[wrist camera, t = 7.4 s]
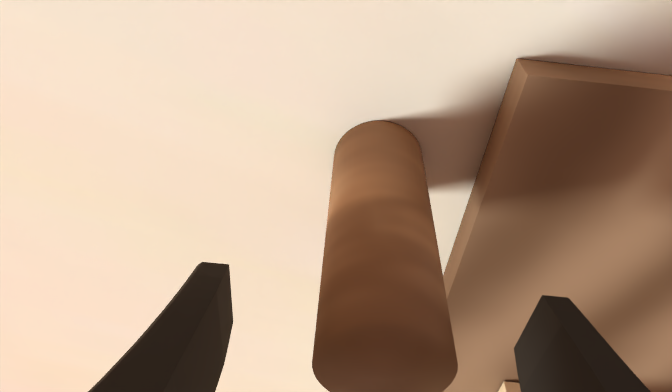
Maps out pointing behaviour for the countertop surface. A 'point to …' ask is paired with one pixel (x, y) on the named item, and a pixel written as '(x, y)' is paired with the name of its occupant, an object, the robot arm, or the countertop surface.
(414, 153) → the dowel
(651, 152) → the backstop board
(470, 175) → the countertop surface
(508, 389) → the hollow square maple frame
